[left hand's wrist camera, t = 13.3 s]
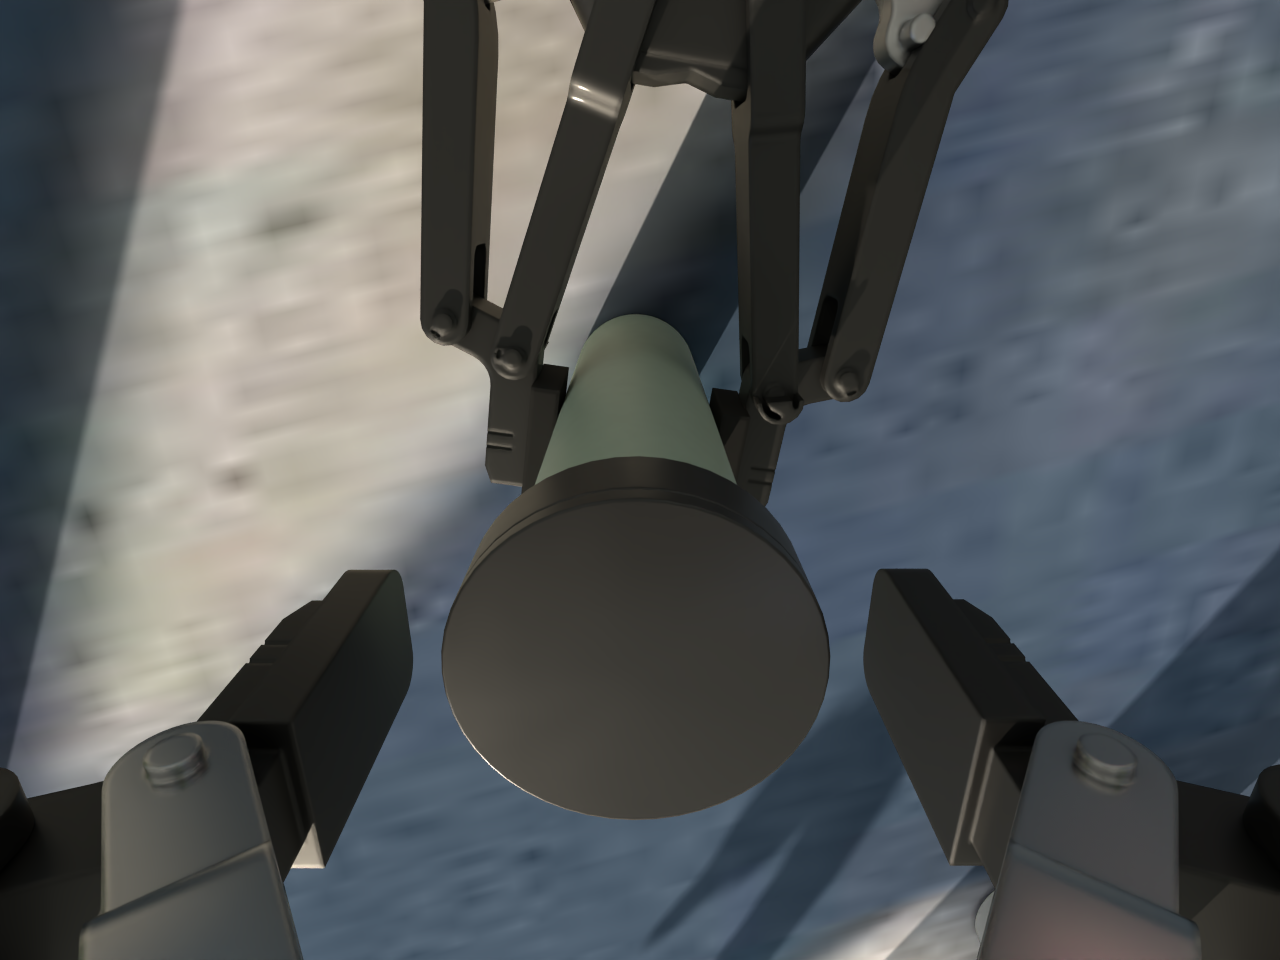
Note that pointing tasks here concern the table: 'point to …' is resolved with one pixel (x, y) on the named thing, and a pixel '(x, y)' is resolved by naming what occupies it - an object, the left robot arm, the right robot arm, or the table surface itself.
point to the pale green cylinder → (635, 401)
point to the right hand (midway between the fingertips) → (611, 586)
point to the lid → (635, 641)
